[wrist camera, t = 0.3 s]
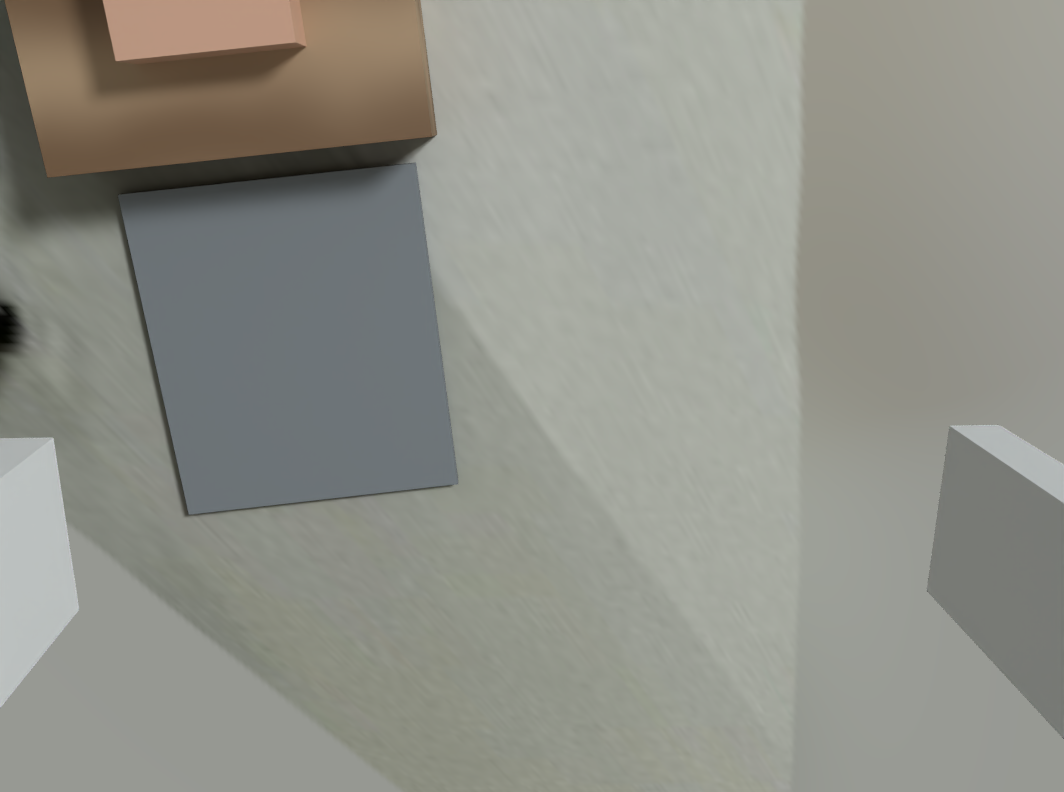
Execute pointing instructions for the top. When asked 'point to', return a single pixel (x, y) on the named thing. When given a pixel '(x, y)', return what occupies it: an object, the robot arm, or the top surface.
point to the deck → (221, 88)
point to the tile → (201, 28)
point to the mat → (294, 336)
